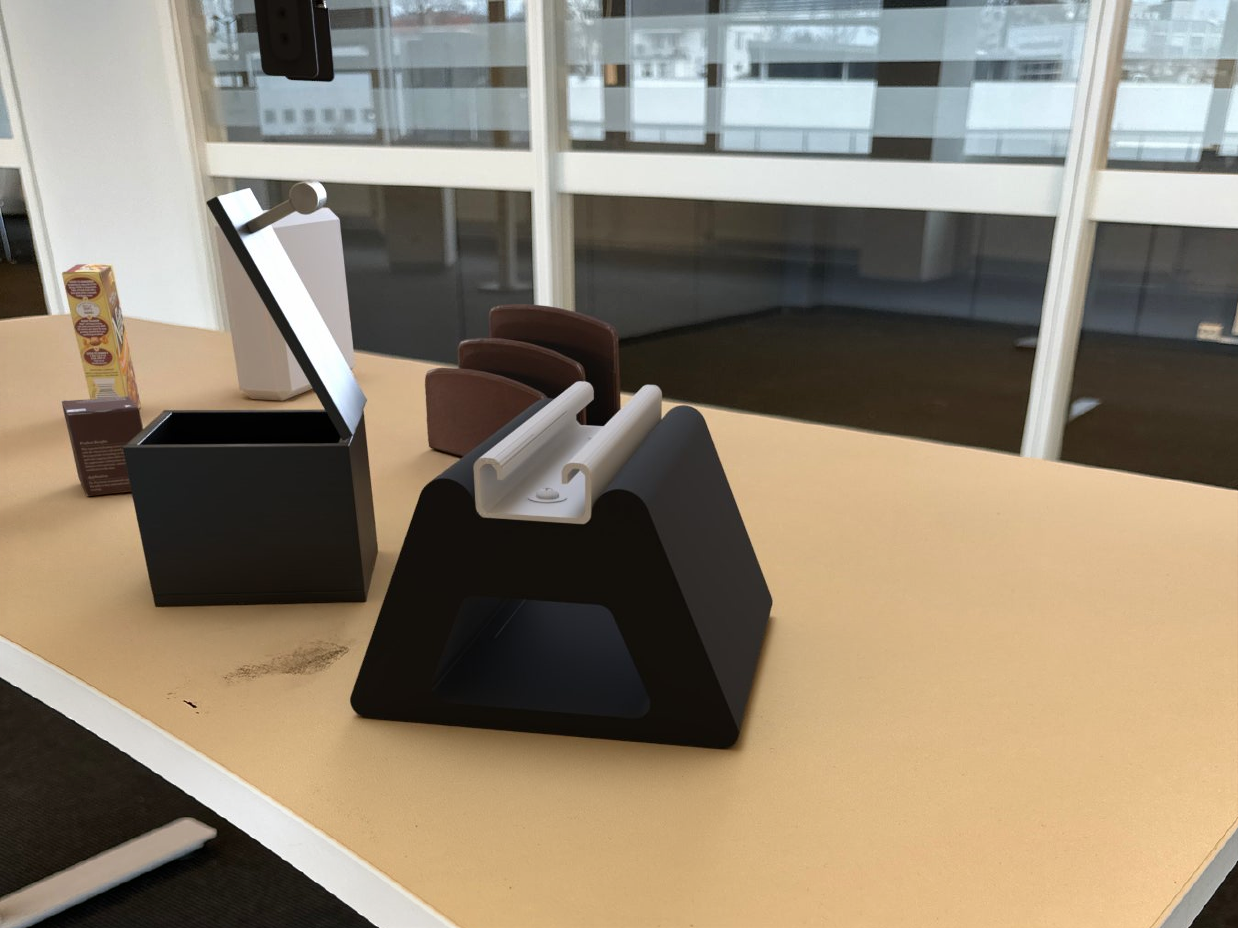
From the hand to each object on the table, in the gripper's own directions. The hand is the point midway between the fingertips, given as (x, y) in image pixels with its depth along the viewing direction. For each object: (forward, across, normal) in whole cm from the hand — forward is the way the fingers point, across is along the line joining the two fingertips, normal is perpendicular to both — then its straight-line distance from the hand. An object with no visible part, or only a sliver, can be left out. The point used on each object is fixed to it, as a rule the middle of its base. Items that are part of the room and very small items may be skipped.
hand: (301, 78), depth 76 cm
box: (+32, -28, -24) cm, 49 cm away
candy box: (+32, -62, -32) cm, 77 cm away
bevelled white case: (+32, -80, -14) cm, 87 cm away
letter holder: (+32, -38, +14) cm, 51 cm away
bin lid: (+14, 0, -2) cm, 14 cm away
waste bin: (+32, 0, -6) cm, 32 cm away
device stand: (+31, +19, +16) cm, 40 cm away
